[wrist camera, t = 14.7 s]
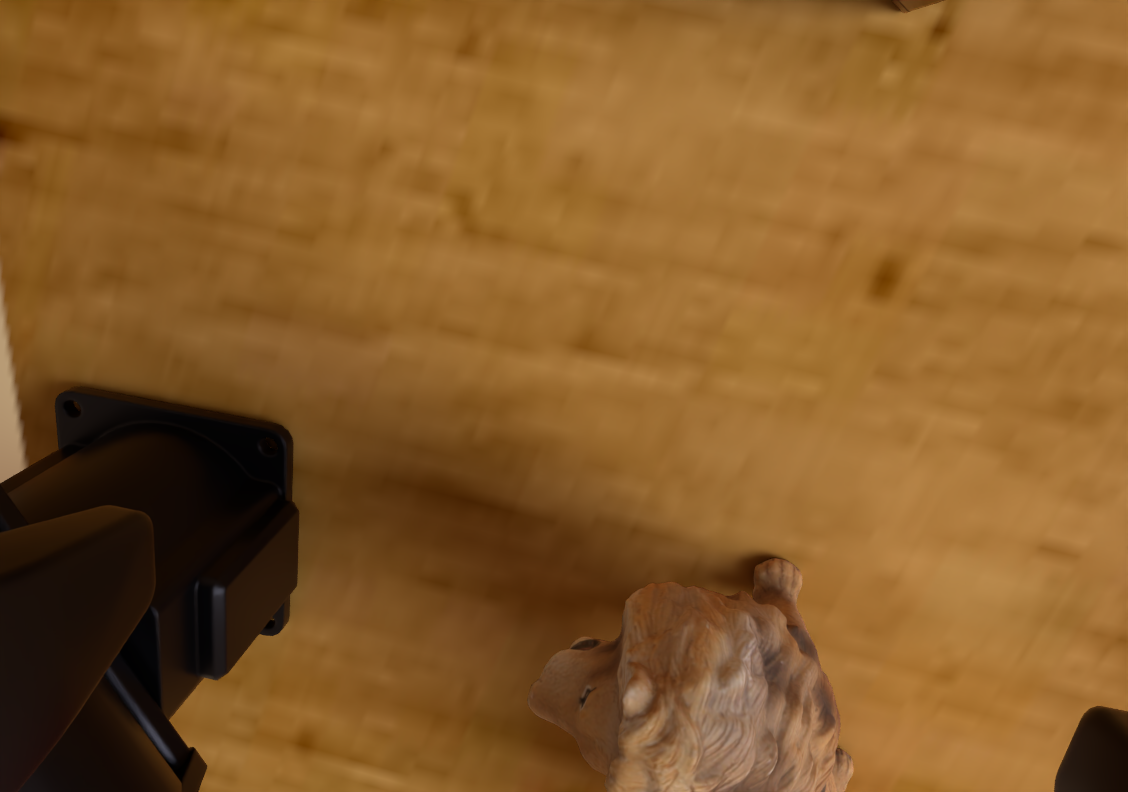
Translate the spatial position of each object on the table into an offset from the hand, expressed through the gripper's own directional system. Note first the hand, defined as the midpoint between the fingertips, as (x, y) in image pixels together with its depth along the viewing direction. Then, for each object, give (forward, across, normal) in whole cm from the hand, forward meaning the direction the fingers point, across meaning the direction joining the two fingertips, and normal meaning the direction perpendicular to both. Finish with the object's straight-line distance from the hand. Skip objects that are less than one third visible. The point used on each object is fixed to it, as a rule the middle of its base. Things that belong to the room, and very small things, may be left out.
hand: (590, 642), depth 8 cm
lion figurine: (+13, -4, +10) cm, 17 cm away
